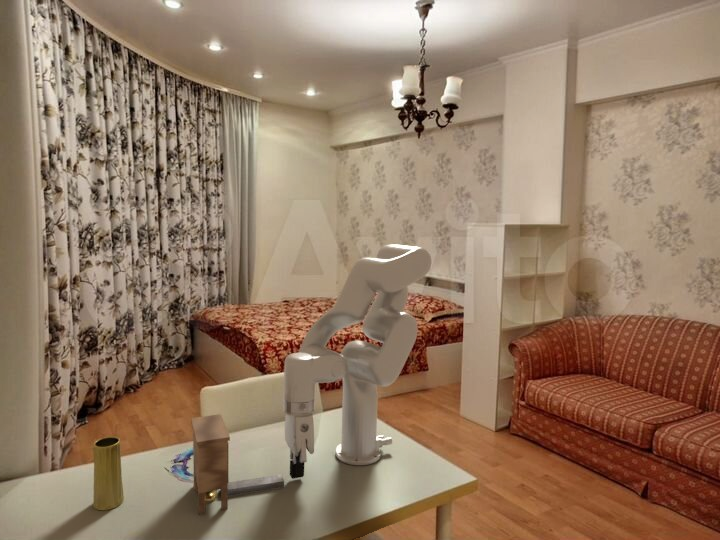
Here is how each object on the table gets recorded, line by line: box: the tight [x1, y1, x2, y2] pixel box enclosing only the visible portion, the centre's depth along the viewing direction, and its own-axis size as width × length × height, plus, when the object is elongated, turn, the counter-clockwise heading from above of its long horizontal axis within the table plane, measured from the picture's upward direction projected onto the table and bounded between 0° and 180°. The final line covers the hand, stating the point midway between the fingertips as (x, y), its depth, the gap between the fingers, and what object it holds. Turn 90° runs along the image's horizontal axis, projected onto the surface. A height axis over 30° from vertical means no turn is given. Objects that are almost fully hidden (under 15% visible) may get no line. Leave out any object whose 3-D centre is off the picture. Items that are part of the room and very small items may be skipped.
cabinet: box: [190, 413, 231, 516], centre depth 110 cm, size 7×13×17 cm, turn 24°
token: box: [205, 490, 218, 504], centre depth 111 cm, size 4×4×1 cm
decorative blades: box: [169, 447, 194, 484], centre depth 126 cm, size 20×1×10 cm
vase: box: [92, 436, 125, 511], centre depth 107 cm, size 6×6×14 cm
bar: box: [228, 474, 285, 497], centre depth 115 cm, size 14×3×2 cm, turn 109°
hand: (296, 476), depth 119 cm, fingers closed
